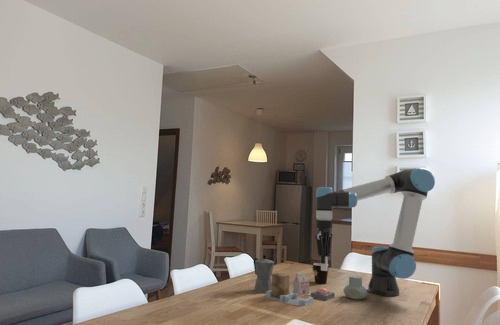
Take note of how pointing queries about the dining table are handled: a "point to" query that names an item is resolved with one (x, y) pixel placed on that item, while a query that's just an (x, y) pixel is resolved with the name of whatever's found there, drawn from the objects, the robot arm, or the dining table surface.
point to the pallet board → (291, 299)
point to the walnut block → (279, 285)
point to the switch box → (322, 295)
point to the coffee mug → (319, 274)
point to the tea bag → (301, 284)
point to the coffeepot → (263, 274)
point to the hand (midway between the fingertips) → (324, 270)
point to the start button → (322, 291)
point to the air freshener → (355, 288)
